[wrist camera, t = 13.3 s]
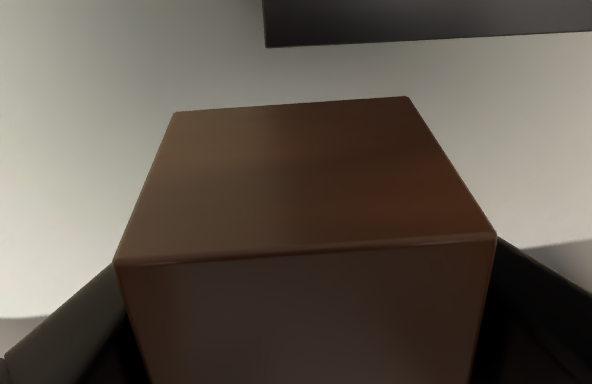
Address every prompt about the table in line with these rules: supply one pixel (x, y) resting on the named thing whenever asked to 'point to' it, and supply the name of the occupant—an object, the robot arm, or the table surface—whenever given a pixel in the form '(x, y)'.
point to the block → (305, 250)
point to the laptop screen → (415, 20)
